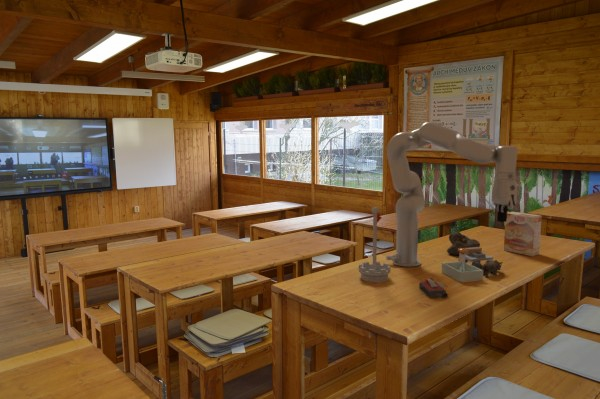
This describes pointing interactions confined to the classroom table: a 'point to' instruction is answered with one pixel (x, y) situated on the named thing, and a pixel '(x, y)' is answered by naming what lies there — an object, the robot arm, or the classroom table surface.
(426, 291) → the walkie-talkie
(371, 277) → the flag stand
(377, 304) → the classroom table surface
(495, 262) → the rhino figurine
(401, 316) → the classroom table surface
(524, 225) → the coffeecake box
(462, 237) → the decorative stone
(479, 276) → the tray
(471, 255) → the trolley
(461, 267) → the pin
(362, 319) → the classroom table surface
